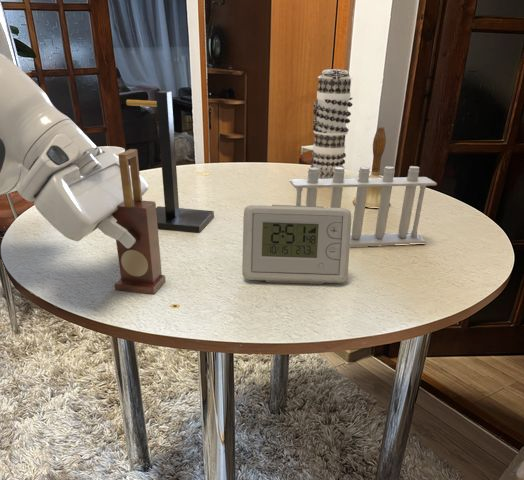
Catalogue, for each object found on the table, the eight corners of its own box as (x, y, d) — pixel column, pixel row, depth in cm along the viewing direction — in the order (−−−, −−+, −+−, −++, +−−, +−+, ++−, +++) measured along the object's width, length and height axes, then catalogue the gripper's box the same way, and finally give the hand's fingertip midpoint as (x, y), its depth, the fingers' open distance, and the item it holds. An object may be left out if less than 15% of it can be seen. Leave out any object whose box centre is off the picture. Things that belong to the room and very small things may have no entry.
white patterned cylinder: (351, 181, 131) (363, 70, 117) (330, 188, 125) (341, 72, 111) (322, 175, 136) (331, 68, 122) (301, 181, 130) (307, 69, 116)
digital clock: (237, 282, 77) (236, 212, 72) (251, 260, 85) (252, 195, 79) (344, 294, 74) (352, 223, 69) (349, 271, 82) (357, 205, 76)
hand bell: (390, 210, 110) (403, 131, 102) (352, 207, 112) (361, 128, 103) (389, 199, 117) (401, 124, 109) (353, 197, 118) (361, 122, 110)
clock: (114, 289, 74) (95, 155, 64) (128, 276, 78) (112, 147, 68) (154, 294, 73) (140, 158, 63) (166, 280, 77) (155, 150, 67)
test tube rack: (415, 236, 97) (429, 164, 90) (425, 245, 93) (440, 169, 86) (285, 241, 93) (289, 165, 86) (290, 249, 89) (294, 171, 82)
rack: (129, 226, 98) (113, 92, 85) (149, 211, 106) (137, 87, 94) (199, 232, 96) (193, 96, 83) (214, 216, 104) (210, 90, 92)
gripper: (89, 161, 79) (155, 228, 82) (8, 196, 62) (96, 278, 65) (112, 131, 76) (180, 202, 79) (34, 160, 59) (124, 249, 62)
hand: (141, 237), depth 72 cm, fingers open, 4 cm apart
